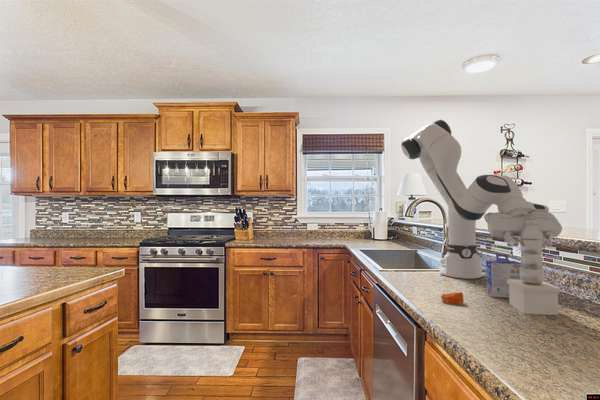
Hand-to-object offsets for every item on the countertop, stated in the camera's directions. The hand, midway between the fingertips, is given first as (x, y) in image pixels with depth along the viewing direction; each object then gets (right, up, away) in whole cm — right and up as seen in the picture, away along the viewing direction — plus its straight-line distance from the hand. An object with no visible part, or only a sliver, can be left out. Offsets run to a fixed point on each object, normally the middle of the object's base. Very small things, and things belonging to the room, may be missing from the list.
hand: (532, 245), depth 96 cm
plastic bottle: (0, -12, +1) cm, 12 cm away
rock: (-20, -21, +9) cm, 31 cm away
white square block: (0, -20, 0) cm, 20 cm away
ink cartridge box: (+1, -20, +15) cm, 25 cm away
